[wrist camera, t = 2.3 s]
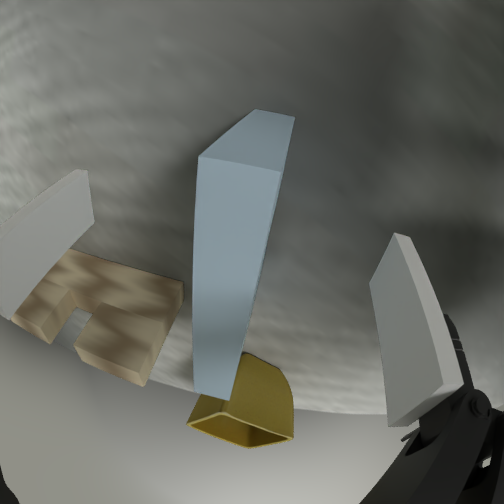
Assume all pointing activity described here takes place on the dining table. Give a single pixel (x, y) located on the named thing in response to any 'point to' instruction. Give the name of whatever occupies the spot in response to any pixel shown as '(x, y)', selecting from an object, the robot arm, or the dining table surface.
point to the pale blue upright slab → (232, 241)
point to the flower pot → (249, 408)
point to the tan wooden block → (105, 312)
